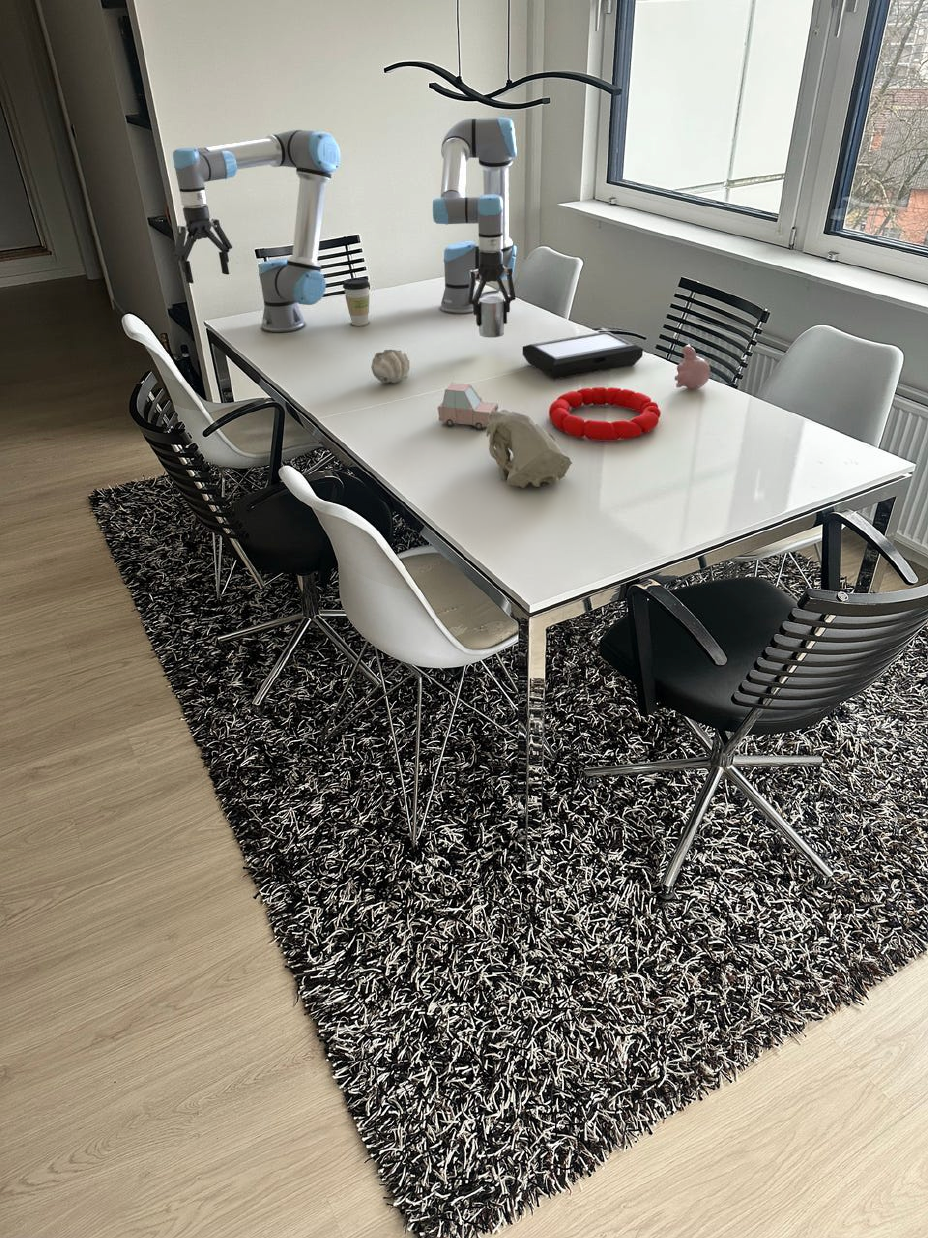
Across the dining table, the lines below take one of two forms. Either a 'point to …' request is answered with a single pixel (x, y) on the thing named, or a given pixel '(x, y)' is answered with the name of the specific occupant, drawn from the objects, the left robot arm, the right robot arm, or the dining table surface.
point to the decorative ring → (604, 428)
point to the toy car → (465, 406)
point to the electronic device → (582, 354)
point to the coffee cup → (357, 300)
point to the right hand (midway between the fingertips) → (491, 323)
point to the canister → (491, 316)
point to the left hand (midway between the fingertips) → (208, 278)
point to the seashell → (390, 366)
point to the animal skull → (525, 450)
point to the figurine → (692, 370)
